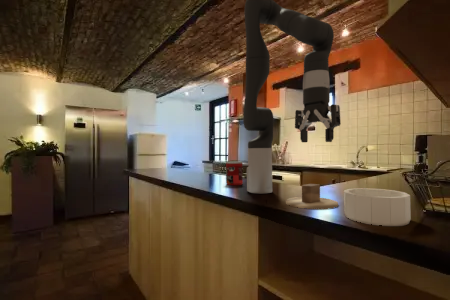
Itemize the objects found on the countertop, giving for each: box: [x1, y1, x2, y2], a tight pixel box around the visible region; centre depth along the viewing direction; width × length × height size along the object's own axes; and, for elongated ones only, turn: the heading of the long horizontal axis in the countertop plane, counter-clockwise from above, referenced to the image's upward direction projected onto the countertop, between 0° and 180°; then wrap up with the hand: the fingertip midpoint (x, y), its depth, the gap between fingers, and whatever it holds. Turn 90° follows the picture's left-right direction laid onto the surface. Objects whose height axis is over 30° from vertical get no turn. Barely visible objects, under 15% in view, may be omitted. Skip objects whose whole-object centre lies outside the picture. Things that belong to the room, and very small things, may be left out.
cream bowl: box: [343, 187, 412, 227], centre depth 59 cm, size 13×13×6 cm
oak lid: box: [285, 183, 339, 210], centre depth 76 cm, size 15×15×6 cm
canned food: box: [225, 161, 244, 186], centre depth 121 cm, size 8×8×11 cm
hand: (316, 142), depth 75 cm, fingers open, 8 cm apart
